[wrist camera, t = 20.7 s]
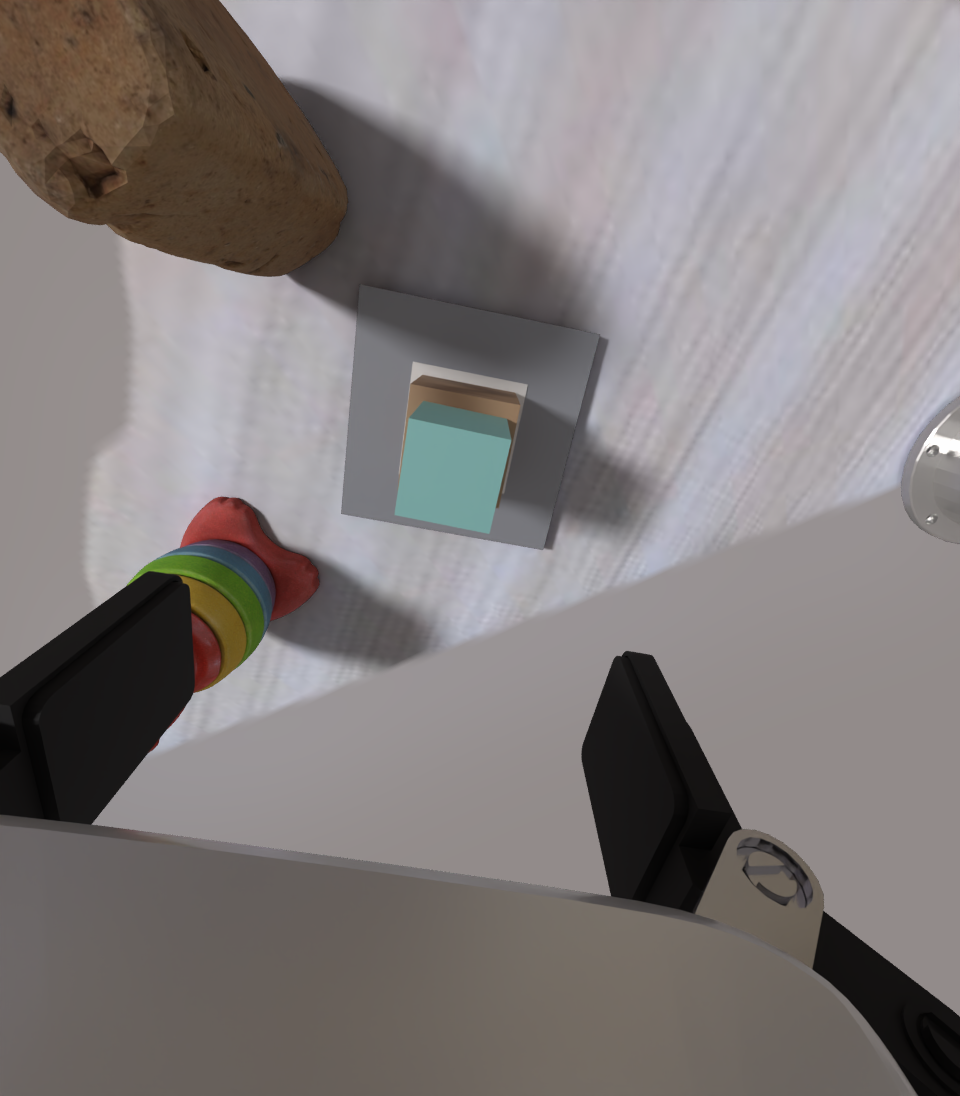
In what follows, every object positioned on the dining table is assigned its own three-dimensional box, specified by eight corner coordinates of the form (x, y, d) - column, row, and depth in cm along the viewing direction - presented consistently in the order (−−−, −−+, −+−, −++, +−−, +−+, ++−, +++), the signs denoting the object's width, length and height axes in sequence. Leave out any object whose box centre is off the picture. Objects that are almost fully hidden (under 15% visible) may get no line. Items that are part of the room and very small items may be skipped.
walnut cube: (515, 392, 35) (520, 405, 29) (497, 481, 37) (498, 508, 32) (422, 374, 34) (410, 383, 29) (410, 465, 37) (397, 490, 31)
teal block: (506, 418, 30) (511, 440, 24) (489, 497, 32) (489, 533, 26) (423, 400, 29) (408, 417, 24) (410, 481, 31) (394, 514, 26)
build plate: (597, 334, 34) (600, 334, 33) (541, 545, 41) (543, 550, 40) (363, 285, 33) (359, 284, 32) (344, 509, 40) (340, 514, 39)
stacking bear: (331, 577, 42) (233, 735, 26) (256, 643, 45) (125, 824, 29) (226, 484, 39) (39, 598, 23) (153, 562, 42) (-61, 712, 25)
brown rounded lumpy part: (373, 229, 32) (221, 100, 14) (281, 294, 33) (33, 257, 15) (264, 32, 28) (-148, -509, 10) (165, 116, 30) (-348, -217, 11)
